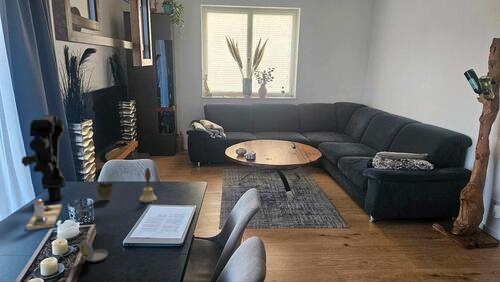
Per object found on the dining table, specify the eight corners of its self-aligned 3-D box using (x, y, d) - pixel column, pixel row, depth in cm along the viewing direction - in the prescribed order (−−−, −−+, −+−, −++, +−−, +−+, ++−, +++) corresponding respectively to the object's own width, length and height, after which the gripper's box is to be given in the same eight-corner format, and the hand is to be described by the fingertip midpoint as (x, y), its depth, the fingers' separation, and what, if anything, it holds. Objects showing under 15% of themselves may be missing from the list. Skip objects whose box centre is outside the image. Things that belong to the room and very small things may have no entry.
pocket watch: (110, 252, 116) (109, 225, 114) (101, 266, 108) (98, 238, 106) (87, 251, 116) (85, 225, 113) (75, 265, 107) (72, 237, 105)
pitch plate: (38, 209, 148) (38, 203, 147) (61, 207, 151) (61, 201, 150) (26, 229, 130) (26, 222, 129) (53, 226, 133) (52, 219, 132)
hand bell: (158, 195, 168) (157, 165, 165) (155, 202, 160) (154, 170, 157) (141, 196, 167) (139, 165, 164) (137, 202, 159) (136, 170, 156)
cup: (96, 203, 156) (95, 187, 155) (98, 197, 163) (97, 182, 162) (113, 202, 158) (112, 186, 157) (114, 196, 165) (114, 181, 164)
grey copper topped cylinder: (36, 220, 134) (33, 198, 132) (47, 219, 135) (45, 197, 133) (33, 225, 130) (31, 201, 128) (45, 223, 131) (42, 200, 129)
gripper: (26, 145, 149) (30, 178, 152) (16, 153, 132) (21, 190, 135) (55, 143, 153) (58, 176, 156) (49, 151, 136) (52, 187, 139)
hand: (47, 182), depth 146 cm, fingers closed
